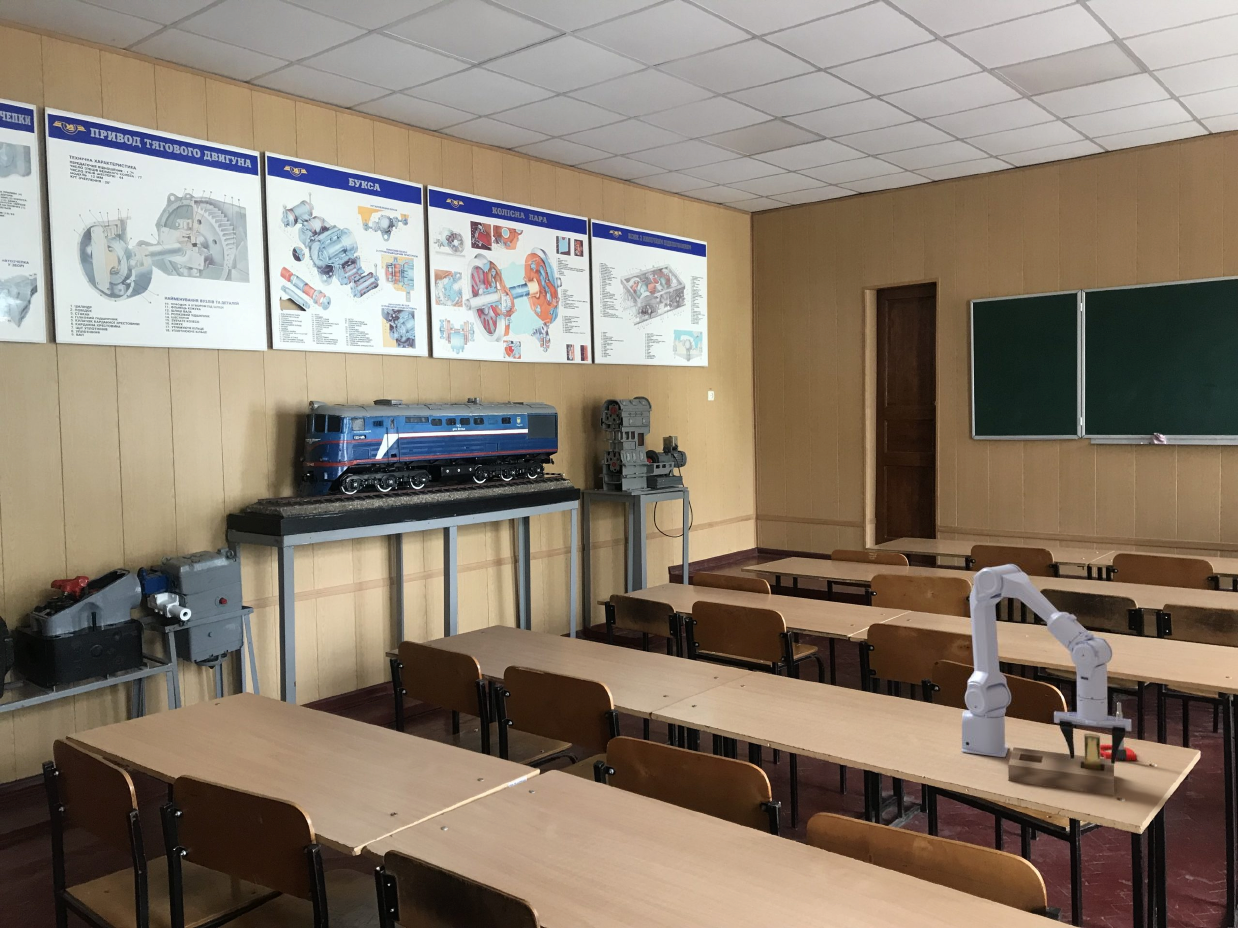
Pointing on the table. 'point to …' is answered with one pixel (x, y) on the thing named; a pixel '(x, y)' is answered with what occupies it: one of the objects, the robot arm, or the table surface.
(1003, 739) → the robot arm
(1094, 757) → the brass pin
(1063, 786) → the hole block
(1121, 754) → the tow hook
